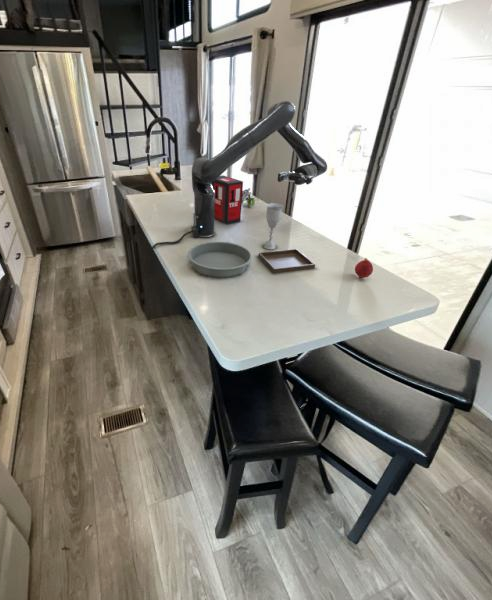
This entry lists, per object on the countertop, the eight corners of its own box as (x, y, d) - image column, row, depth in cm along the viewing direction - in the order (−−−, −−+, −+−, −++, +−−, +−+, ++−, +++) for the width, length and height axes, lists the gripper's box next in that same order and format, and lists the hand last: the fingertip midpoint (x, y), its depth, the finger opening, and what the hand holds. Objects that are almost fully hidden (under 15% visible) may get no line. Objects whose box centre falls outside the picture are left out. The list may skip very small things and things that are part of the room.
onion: (369, 276, 117) (375, 256, 113) (370, 283, 113) (377, 263, 108) (352, 273, 119) (357, 253, 114) (352, 280, 114) (358, 260, 110)
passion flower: (239, 214, 193) (232, 195, 193) (254, 209, 196) (248, 190, 195) (245, 208, 182) (238, 188, 182) (261, 202, 185) (254, 183, 184)
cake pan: (206, 285, 110) (206, 274, 108) (178, 258, 128) (177, 247, 126) (264, 271, 120) (265, 260, 117) (230, 247, 138) (231, 237, 136)
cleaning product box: (208, 215, 174) (209, 177, 163) (221, 212, 178) (223, 175, 167) (226, 224, 162) (228, 183, 151) (240, 221, 166) (243, 181, 156)
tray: (273, 273, 118) (274, 269, 117) (258, 256, 130) (258, 252, 129) (314, 268, 122) (315, 264, 121) (295, 252, 134) (296, 248, 133)
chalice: (260, 243, 142) (264, 203, 132) (275, 243, 142) (280, 203, 132) (264, 250, 135) (268, 208, 126) (279, 250, 136) (285, 208, 126)
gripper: (289, 163, 145) (273, 169, 133) (320, 167, 138) (306, 173, 127) (287, 180, 149) (271, 187, 138) (316, 185, 142) (303, 192, 131)
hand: (288, 180), depth 132 cm, fingers open, 8 cm apart
